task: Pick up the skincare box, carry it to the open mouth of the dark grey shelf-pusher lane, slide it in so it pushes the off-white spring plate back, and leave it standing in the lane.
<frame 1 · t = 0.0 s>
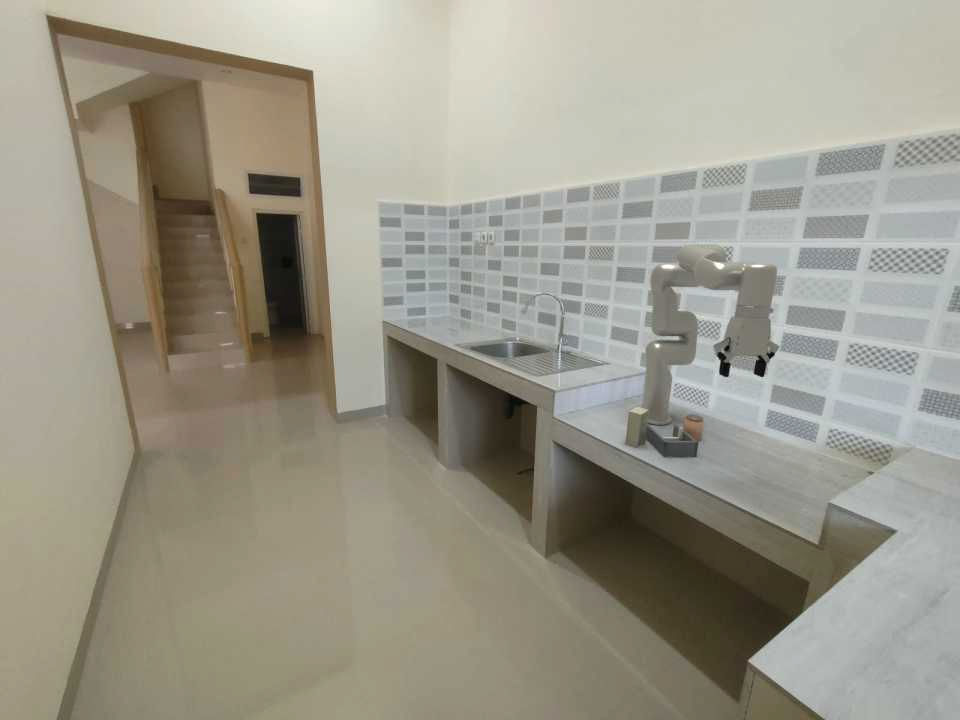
hand: (741, 375, 112), 31 cm above the worktop, tool pointing down, fingers open, 9 cm apart
pusher: (670, 436, 140), point 4 cm above the worktop, slide at 0.0 cm
skincare box: (635, 443, 143), on the worktop
lane: (669, 446, 140), on the worktop
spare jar: (691, 437, 147), on the worktop
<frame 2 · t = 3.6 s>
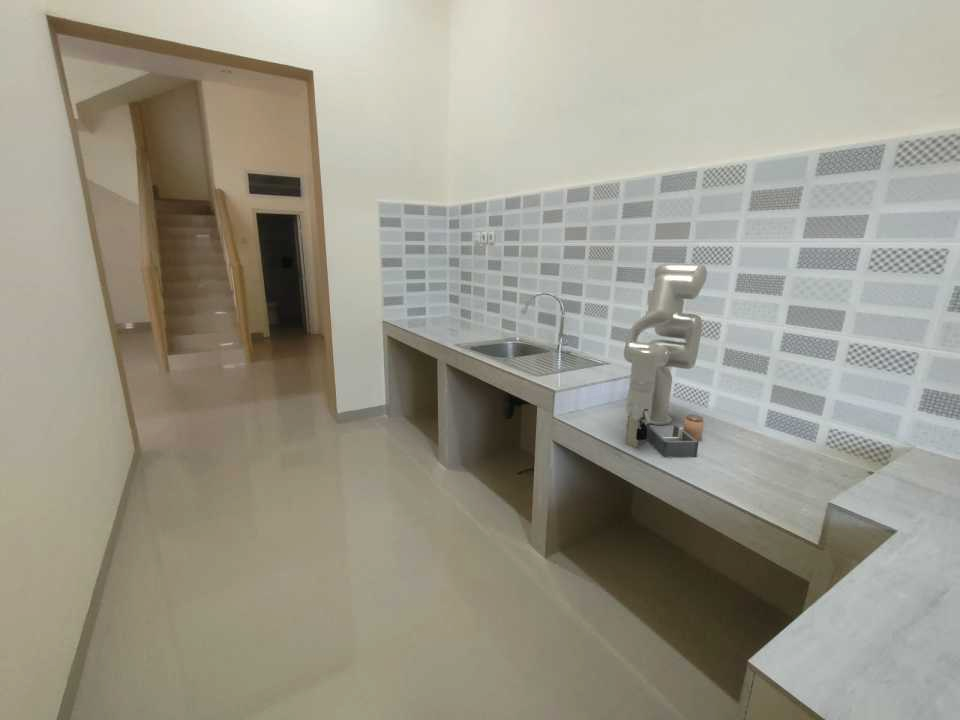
hand: (636, 434, 142), 3 cm above the worktop, tool pointing down, fingers closed on skincare box, 7 cm apart
skincare box: (635, 443, 143), on the worktop, touching gripper
everything else where it was.
when the fingers open (4 cm above the worktop, at t = 8.9 s): skincare box stays where it is, resting in lane.
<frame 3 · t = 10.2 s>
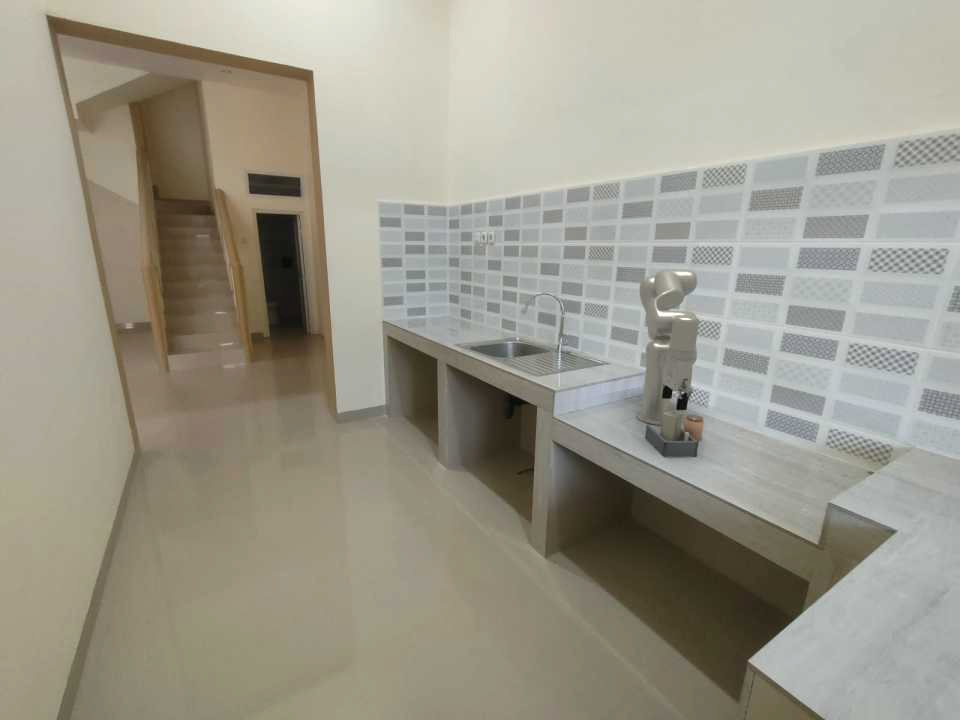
hand: (673, 403, 138), 15 cm above the worktop, tool pointing down, fingers open, 9 cm apart
pusher: (675, 441, 136), point 3 cm above the worktop, slide at 3.8 cm
skincare box: (668, 446, 141), resting in lane
everything else where it was.
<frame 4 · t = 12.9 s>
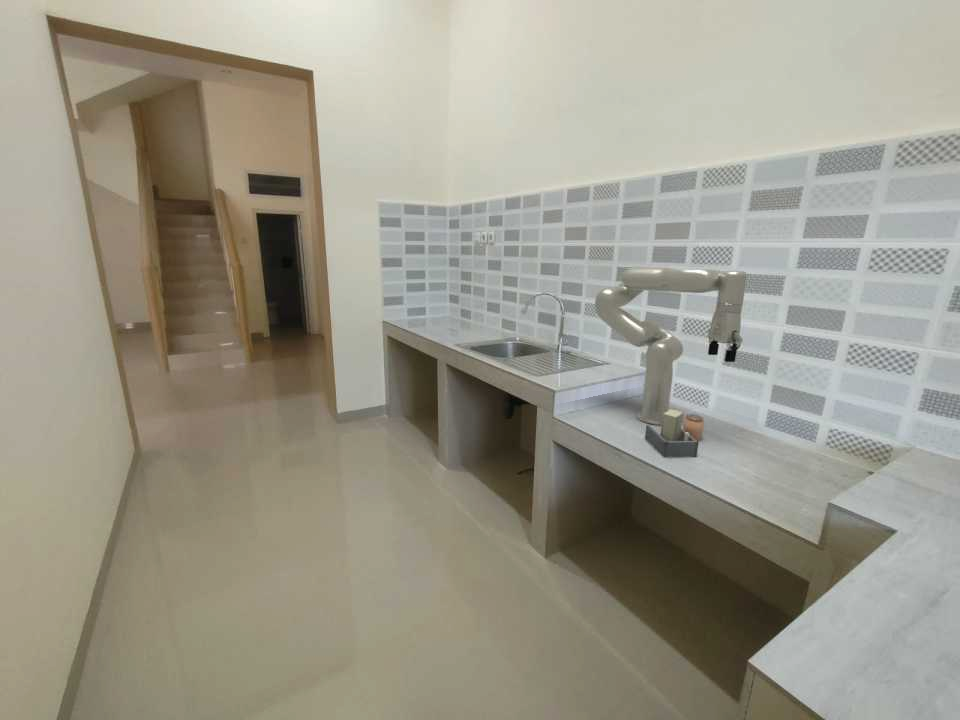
hand: (720, 358, 144), 28 cm above the worktop, tool pointing down, fingers open, 9 cm apart
nothing on the worktop moved.
at the end: skincare box inside the target area on the lane (1.0 cm from its centre), point 0.0 cm above the lane's base; pusher slide at 3.8 cm; skincare box tilted 0° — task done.
